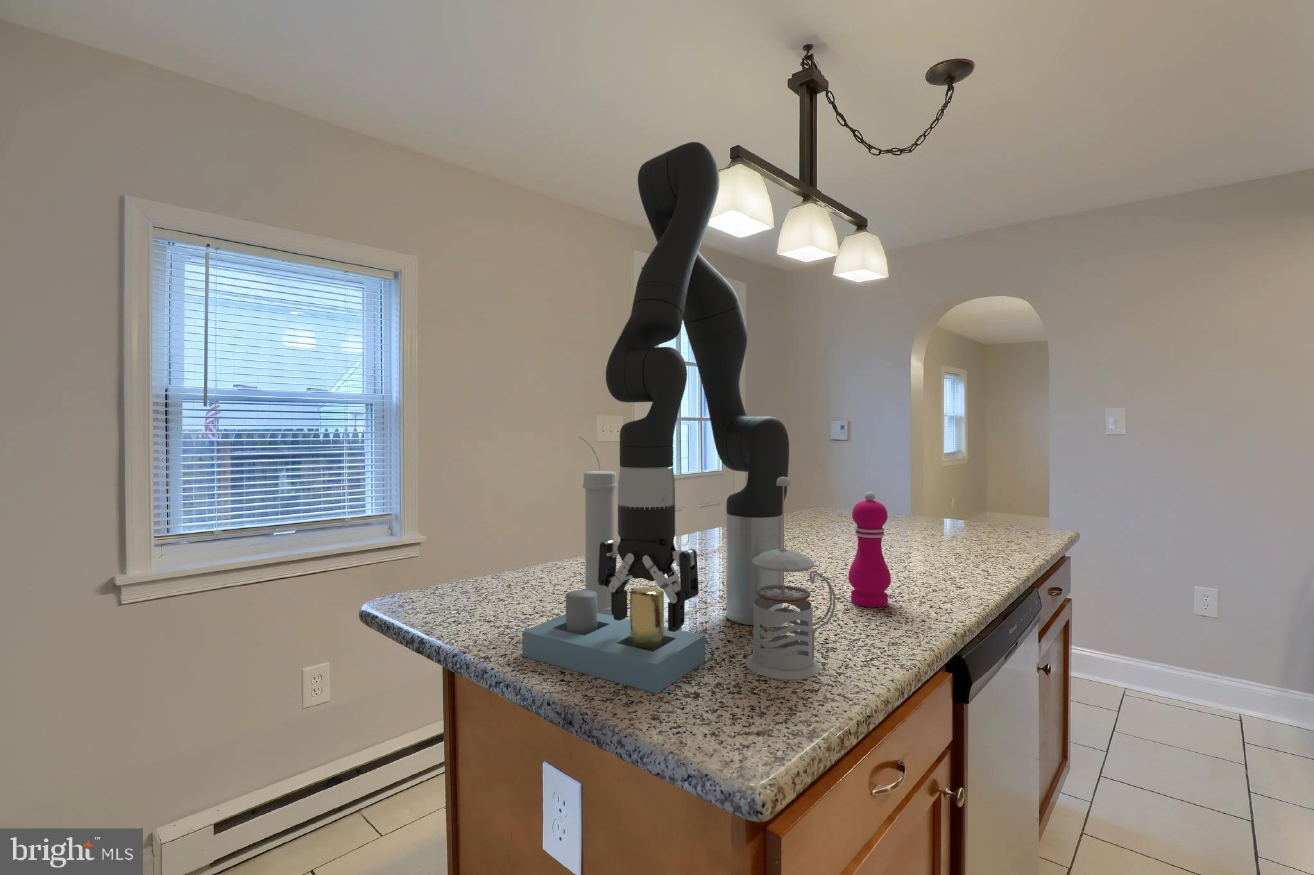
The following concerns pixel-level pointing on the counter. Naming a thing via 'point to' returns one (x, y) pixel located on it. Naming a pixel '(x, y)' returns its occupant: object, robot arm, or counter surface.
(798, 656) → the french press
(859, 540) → the pepper mill
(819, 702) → the counter surface
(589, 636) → the jig
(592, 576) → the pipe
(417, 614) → the counter surface
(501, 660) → the counter surface
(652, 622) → the gold cylinder
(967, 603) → the counter surface
